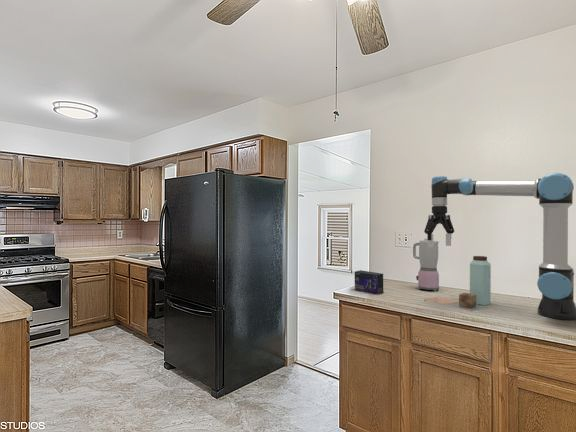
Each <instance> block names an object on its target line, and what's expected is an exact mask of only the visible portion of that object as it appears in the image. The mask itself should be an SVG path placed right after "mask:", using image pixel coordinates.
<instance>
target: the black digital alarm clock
mask: <svg viewBox="0 0 576 432" xmlns="http://www.w3.org/2000/svg"><path fill="white" fill-rule="evenodd" d="M354 290H355V291H357V290H358V291H359V292H362V291H363V292H364V293H367V292H368V293H367V294H372V295H377V296H378V295H382V294H384V273H380V272H374V271H370V270H369V271H368V270H361V269H360V270H356V271H354ZM358 291H357V292H358Z"/></svg>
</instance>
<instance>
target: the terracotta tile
mask: <svg viewBox="0 0 576 432" xmlns="http://www.w3.org/2000/svg"><path fill="white" fill-rule="evenodd" d="M423 301H424V302H426V301H430V302H433V303H438V304H440V305H450V304H456V303H459V300H455V299H453V298H448V297H443V296H436V297H430V298H429V297H428V298H424V299H423Z"/></svg>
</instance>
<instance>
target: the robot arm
mask: <svg viewBox="0 0 576 432" xmlns="http://www.w3.org/2000/svg"><path fill="white" fill-rule="evenodd" d="M573 193H574V183H573V180H572V178H570V176H568V175H566V174H565V173H561V172H553V173H549V174H546V175H544V176H542V178H536V179H535V180H472V178H464V177H463V178H457V179H448V177H447V176H444V175H443V176H442V175H440V176H439V175H437V176H433V177H432V178H431V206H432V207H431V213H432V214H429V215H428V219H427V222H426V225H425V228H424V231H423V232H424V233H425V235H427V237H426V239H428V247H433V241H434V234H433V232H434V230H435V229H436V228H437V226H438V225H442V227H443V229H444V230H445V232H446V233H445V246H447V247H452V234H454V233H455V228H454V226H453V223H452V220H451V215H450V214H447V213H448V206H447V205H448V195H463V196H495V197H496V196H498V197H499V196H501V197H504V196H505V197H510V196H511V197H534V198H535V199H538V201H539V202H538V203H539V204H538V205H539V206H540V207H542V208H543V210H542V212H543V213H542V215H543V220H542V222H543V223H542V224H543V225H542V227H543V228H542V229H543V231H542V232H543V233H542V234H543V235H542V236H543V237H542V242H543V243H542V244H543V245H542V247H543V248H542V251H543V253H542V263H541V264H539V265H538V279H537V283H536V285H537V289H538V290H539V292H540V293H541V300H540V302H539V303H538V304H539V305H538V307H537V314H538V315H540V316H543V317H545V318H549V319H556V320H565V321H576V304H575V301H574V294H575V291H574V289H575V288H574V285H575V283H574V275H575V272H574V268H573V267H571V265H569V262H568V261H569V260H568V258H569V257H568V255H569V254H568V253H569V247H568V245H569V243H568V242H569V208H570V207H571V206H572V205H573V201H574V200H573V199H574V198H573V197H574V196H573Z"/></svg>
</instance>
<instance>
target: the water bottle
mask: <svg viewBox="0 0 576 432" xmlns="http://www.w3.org/2000/svg"><path fill="white" fill-rule="evenodd" d="M491 265H492V264H491V262H489V261H488V256H485V255H473V256H472V261H470V262H469V294H475V295H476V305H478V306H489V305H490V304H491V302H492V299H491V294H492V293H491V291H492V290H491V288H492V287H491V282H492V281H491V277H492V276H491V273H492V270H491V269H492V268H491Z"/></svg>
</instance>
